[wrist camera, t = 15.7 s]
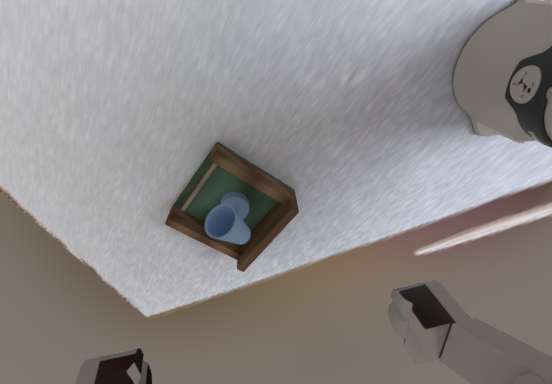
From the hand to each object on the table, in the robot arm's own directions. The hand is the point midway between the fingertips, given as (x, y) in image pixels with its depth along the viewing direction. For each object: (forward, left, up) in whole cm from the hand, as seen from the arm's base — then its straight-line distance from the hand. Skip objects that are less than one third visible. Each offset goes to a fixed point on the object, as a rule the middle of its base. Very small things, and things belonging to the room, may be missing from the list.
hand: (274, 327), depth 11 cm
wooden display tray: (+4, +19, -37) cm, 42 cm away
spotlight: (+3, +19, -37) cm, 42 cm away
